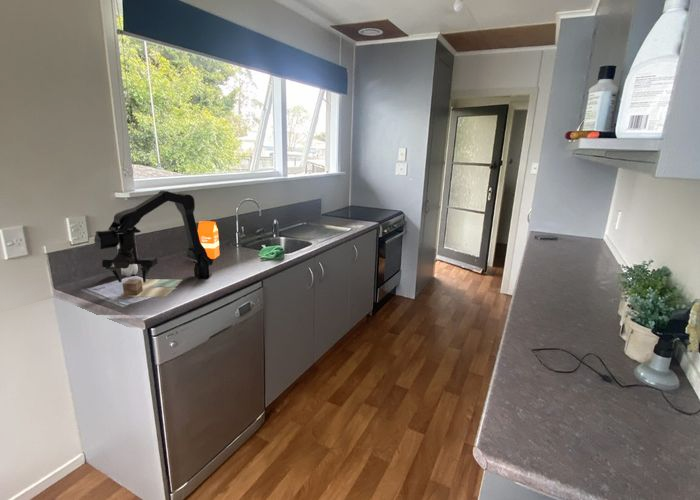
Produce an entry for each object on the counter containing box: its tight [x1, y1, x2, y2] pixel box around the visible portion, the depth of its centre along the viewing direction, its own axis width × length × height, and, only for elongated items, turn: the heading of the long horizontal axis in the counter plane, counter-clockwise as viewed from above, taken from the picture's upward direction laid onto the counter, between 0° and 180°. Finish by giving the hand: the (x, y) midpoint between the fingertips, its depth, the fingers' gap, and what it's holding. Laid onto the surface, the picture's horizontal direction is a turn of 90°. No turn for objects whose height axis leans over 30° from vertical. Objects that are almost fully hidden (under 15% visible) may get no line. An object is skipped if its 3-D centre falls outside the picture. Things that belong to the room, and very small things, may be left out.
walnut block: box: [122, 278, 143, 295], centre depth 150 cm, size 5×5×5 cm
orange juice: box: [197, 220, 220, 260], centre depth 203 cm, size 8×9×20 cm
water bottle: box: [116, 244, 139, 277], centre depth 170 cm, size 7×7×25 cm
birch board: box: [118, 278, 183, 298], centre depth 157 cm, size 18×20×1 cm
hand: (132, 282), depth 149 cm, fingers open, 9 cm apart
